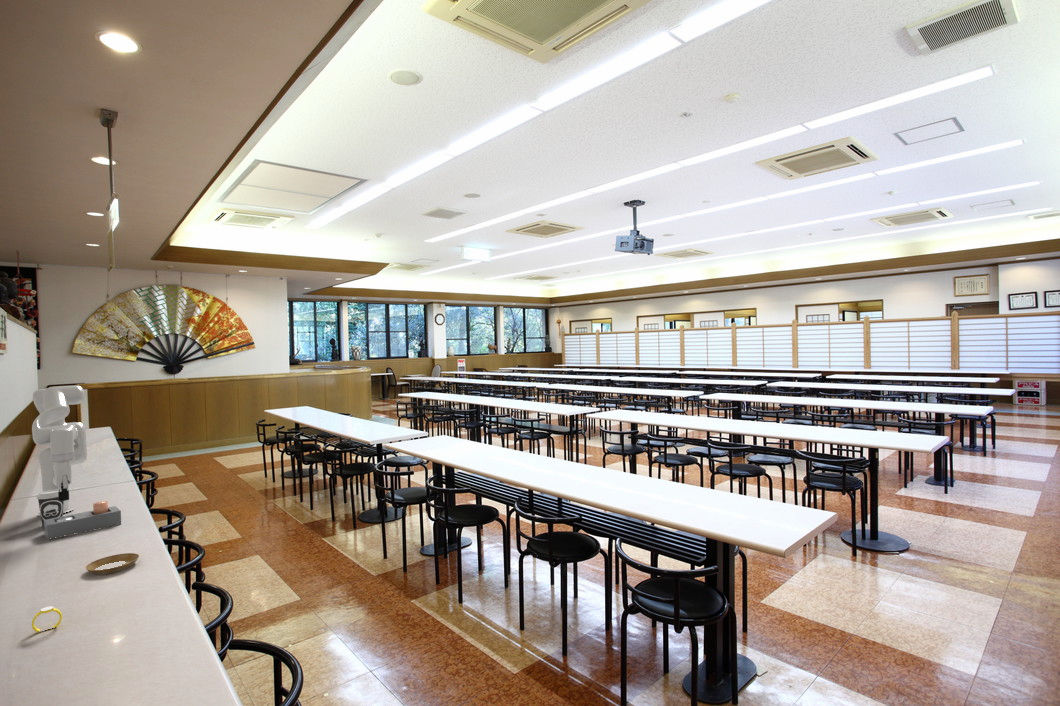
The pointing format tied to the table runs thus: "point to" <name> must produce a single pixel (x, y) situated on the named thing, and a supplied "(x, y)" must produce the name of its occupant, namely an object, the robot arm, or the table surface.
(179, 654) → the table surface
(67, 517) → the metal plunger
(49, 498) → the coffee cup
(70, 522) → the plunger housing
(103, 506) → the peach rounded cylinder
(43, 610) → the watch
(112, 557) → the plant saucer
